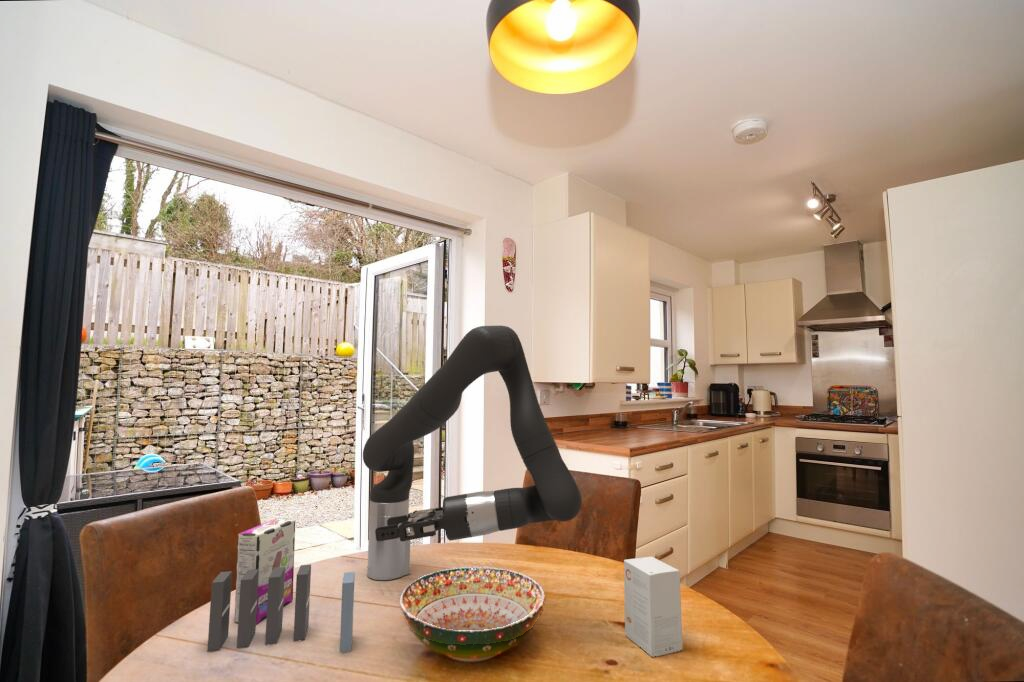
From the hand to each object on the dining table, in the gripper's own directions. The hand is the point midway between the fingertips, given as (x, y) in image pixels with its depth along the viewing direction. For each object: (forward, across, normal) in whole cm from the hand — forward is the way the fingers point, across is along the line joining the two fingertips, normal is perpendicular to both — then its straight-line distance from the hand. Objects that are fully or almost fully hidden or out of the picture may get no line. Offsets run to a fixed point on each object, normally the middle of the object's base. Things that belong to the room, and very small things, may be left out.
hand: (382, 529), depth 88 cm
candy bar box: (+28, -12, +14) cm, 33 cm away
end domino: (+30, 0, +14) cm, 33 cm away
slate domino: (+8, +1, +18) cm, 19 cm away
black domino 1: (+25, -1, +15) cm, 29 cm away
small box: (-44, +1, +26) cm, 51 cm away
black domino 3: (+17, -3, +16) cm, 23 cm away
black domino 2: (+21, -2, +15) cm, 26 cm away
